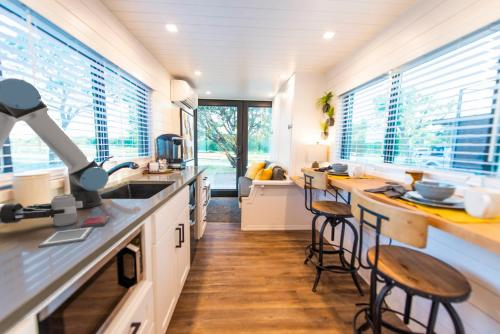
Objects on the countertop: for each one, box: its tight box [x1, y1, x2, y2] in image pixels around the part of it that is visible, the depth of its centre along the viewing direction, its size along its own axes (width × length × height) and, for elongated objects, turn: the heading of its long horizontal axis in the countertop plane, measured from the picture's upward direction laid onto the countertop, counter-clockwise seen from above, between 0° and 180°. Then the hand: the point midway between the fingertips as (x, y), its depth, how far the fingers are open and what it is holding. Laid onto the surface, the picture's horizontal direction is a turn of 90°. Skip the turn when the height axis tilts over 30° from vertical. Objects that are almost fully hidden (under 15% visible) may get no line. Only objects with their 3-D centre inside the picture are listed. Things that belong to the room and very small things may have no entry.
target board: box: [38, 227, 95, 248], centre depth 77 cm, size 12×12×1 cm
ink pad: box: [79, 215, 110, 229], centre depth 90 cm, size 9×8×2 cm
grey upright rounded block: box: [50, 193, 78, 227], centre depth 88 cm, size 8×8×12 cm
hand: (78, 206), depth 90 cm, fingers closed on grey upright rounded block, 7 cm apart
